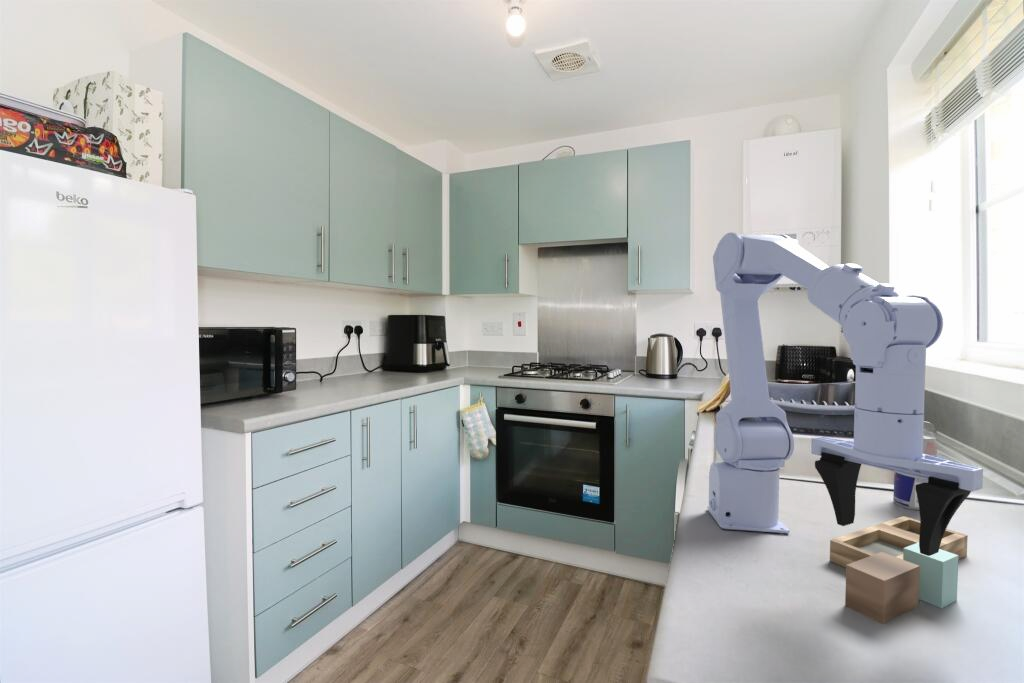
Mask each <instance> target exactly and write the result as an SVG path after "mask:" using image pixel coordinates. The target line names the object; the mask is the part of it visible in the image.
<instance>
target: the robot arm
mask: <svg viewBox="0 0 1024 683" xmlns="http://www.w3.org/2000/svg"><path fill="white" fill-rule="evenodd" d="M712 262H713V263H712V264H713V272H714V280H715V290H716V291H717V292H719V293H720V304H721V316H722V323H723V333H724V341H725V342H724V343H725V351H726V353H725V354H726V360H727V363H726V364H727V370H728V380H729V389H730V390H729V391H730V399H731V400H730V401H729V402H728V403H727V404H726V405H725V406H723V407H722V408H721V409H720V410H718V412H716V414H715V417H716V418H715V421H716V422H715V425H716V426H715V431H714V436H713V439H714V440H713V441H714V446H715V449H716V452H717V454H718V455H719V457H720V458H721V460H722V461H720V462H718V461H717V462H716V461H715V462H712V463H710V467H709V473H708V474H709V475H708V476H709V477H708V505H707V509H706V510H708V512H709V513H710V515H711V516H712V518H713V519H714V520H715V521H716V523H717V525H718V526H719V528H721V529H724V530H736V531H748V532H749V531H750V532H765V533H766V532H767V533H780V534H789V533H790V529H789V528H788V527H787V526H786V525H785V524H784V522H782V520H780V519H779V509H780V508H779V506H780V505H779V504H780V469H781V468H785V462H786V461H788V460H789V459H790V458H791V457H792V456H793V453H794V451H795V437H794V435H793V432H792V431H791V428H790V427H789V423H788V419H787V413H786V411H785V410H784V409H782V408H781V407H780V406H779V405H777V404H776V403H775V402H773V401H772V400H771V399H770V394H769V391H770V390H769V386H768V376H767V370H766V369H767V368H766V367H767V366H766V360H765V351H764V342H763V336H762V328H761V319H760V312H759V304H758V301H759V298H761V296H762V295H763V294H766V293H768V292H769V291H771V290H772V289H773V287H774V286H776V284H778V282H779V281H780V280H781V279H782V278H783V277H786V278H787V279H789V280H791V281H793V282H794V283H796V284H797V285H800V286H802V287H803V288H805V289H806V290H807V292H806V293H807V295H806V296H807V298H808V301H809V303H811V305H812V306H814V307H815V308H816V309H818V310H820V311H821V312H822V313H824V314H825V315H827V317H829V318H831V319H832V320H834V321H835V322H836V323H838V324H839V325H840V326H841V328H842V333H843V337H844V339H845V341H846V342H847V344H848V345H849V348H850V360H851V361H852V364H853V365H854V366H855V383H854V384H855V386H854V387H855V388H854V389H855V391H854V415H853V416H854V417H853V418H854V420H853V421H854V422H853V440H847V439H838V438H833V437H832V438H831V437H825V436H815V437H811V450H810V453H811V455H814V456H815V455H816V456H820V458H819V459H817V460H815V461H814V467H815V470H816V471H817V472H818V474H819V476H820V477H821V479H822V481H823V484H824V485H825V487H826V490H827V491H828V492H827V493H828V495H829V498H830V501H831V503H832V508H833V511H834V515H835V520H836V523H837V525H839V526H842V527H845V526H849V525H852V524H854V522H855V517H856V491H857V485H858V484H857V483H858V480H859V475H860V471H861V466H862V465H865V466H867V467H868V466H869V467H873V468H876V469H877V468H878V469H881V470H886V471H891V472H898V473H903V474H907V475H911V476H916V477H920V478H924V479H928V483H926V482H924V483H921V484H917V485H916V488H915V489H916V493H917V497H918V503H919V510H920V511H919V519H920V520H919V521H920V537H919V548H920V553H921V554H924V555H927V556H931V555H933V554H935V553H938V552H939V547H940V544H941V540H942V538H943V535H944V532H945V530H946V529H948V526H949V524H950V522H951V520H952V518H953V517H954V515H955V514H956V513H957V510H958V509H959V508H960V506H961V505H962V504H963V503H964V502H965V500H967V498H968V497H969V496H970V495H971V492H976V491H979V490H981V489H983V487H984V486H983V485H984V484H983V482H984V481H983V480H984V468H981V467H977V466H973V465H969V464H968V465H967V464H964V463H960V462H956V461H952V460H948V459H945V458H942V457H941V458H940V457H938V456H937V457H934V456H930V455H926V454H923V434H924V424H925V396H926V395H925V390H926V389H925V388H926V366H927V365H926V363H927V362H926V360H927V357H926V356H927V349H928V348H930V347H931V346H933V345H934V344H935V343H936V342H937V341H938V339H939V338H940V336H941V335H942V332H943V327H944V318H943V314H942V313H941V311H940V309H939V307H938V306H937V305H936V304H935V303H933V302H932V301H931V300H930V299H929V298H928V297H927V296H925V295H906V296H901V295H899V294H898V293H897V292H896V291H895V287H894V286H893V285H891V284H889V283H885V282H884V283H880V282H878V281H876V280H874V279H872V278H870V277H869V276H867V275H865V274H863V273H862V271H863V267H862V266H860V265H858V264H856V263H844V264H834V265H833V264H832V265H830V266H828V265H827V264H826V263H824V262H823V261H822V260H820V259H819V258H817V257H816V256H814V255H813V254H811V253H810V252H809V251H807V250H805V249H804V248H803V247H801V246H800V245H799V241H798V240H797V239H796V238H792V237H790V236H789V235H788V234H787V235H786V234H776V235H775V234H774V235H773V234H772V235H771V234H754V233H753V234H752V233H751V234H750V233H747V234H746V233H737V232H727V233H725V234H724V235H723V236H722V237H721V239H720V240H719V242H718V243H717V246H716V248H715V251H714V252H713V256H712ZM747 418H750V419H753V418H754V419H759V420H741V419H747Z"/></svg>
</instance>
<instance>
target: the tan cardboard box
mask: <svg viewBox="0 0 1024 683" xmlns="http://www.w3.org/2000/svg"><path fill="white" fill-rule="evenodd" d="M919 575H920V566H919V565H916V564H913V563H911V562H908V561H905V560H903V559H900V558H897V557H895V556H892V555H889V554H887V553H884V552H880V553H877V554H874V555H872V556H869V557H866V558H864V559H861V560H858V561H856V562H853V563H850V564H847V565H846V568H845V598H844V599H845V600H844V605H845V606H846V607H848V608H849V609H852V610H854V611H856V612H858V613H860V614H861V615H864V616H865V617H867V618H869V619H872V620H874V621H876V622H878V623H880V624H882V625H884V624H887V623H888V622H890V621H892V620H895V619H896V618H898V617H899V616H902V615H904V614H906V613H908V612H911V611H912V610H914V609H916V608H918V607H919V603H920V602H919V601H920V599H919Z"/></svg>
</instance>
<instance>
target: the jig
mask: <svg viewBox="0 0 1024 683" xmlns="http://www.w3.org/2000/svg"><path fill="white" fill-rule="evenodd" d="M968 536H969V535H968V534H964V533H961V532H957V531H955V530H951V529H948V528H946V530H945V532H944V535H943V538H942V540H941V544H940V547H939V549H941V550H944V551H947V552H950V553H953V554H956V555H958V560H960V559H963V558H964V557H967V556H968ZM919 537H920V520H918V519H915V518H911V517H908V516H905V515H903V516H900V517H899V516H898V517H897V518H893V519H890V520H887V521H884V522H881V523H879V524H874V525H872V526H869V527H865V528H862V529H860V530H858V531H857V530H856V531H853V532H850V533H848V534H847V533H846V534H845V535H841V536H838V537H835V538H832V539H830V540H829V543H830V544H829V547H830V548H829V562H831V563H833V564H836V565H838V566H841V567H843V568H845V569H846V565H847V564H850V563H853V562H856V561H858V560H861V559H864V558H866V557H869V556H872V555H874V554H877V553H880V552H884V553H887V554H889V555H892V556H895V557H897V558H900V559H903V550H904V548H905V547H908V546H910V545H913V544H916V543H918V542H919Z"/></svg>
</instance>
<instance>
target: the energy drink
mask: <svg viewBox="0 0 1024 683" xmlns="http://www.w3.org/2000/svg"><path fill="white" fill-rule="evenodd" d="M923 454H926V455H930V456H934V457H937V458H938V442H937V439H936V437H935V436H933V435H929V434H925V433H923ZM893 472H894V471H893ZM893 474H894V476H893V502H894V503H895V504H896V505H898V506H899V505H900V507H902V508H905V509H909V510H914V511H919V512H920V510H919V503H918V497H917V493H916V489H915V488H916V485H917V484H921V483H924V482H926V483H928V479H924V478H920V477H916V476H911V475H907V474H903V473H898V472H894V473H893Z"/></svg>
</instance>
